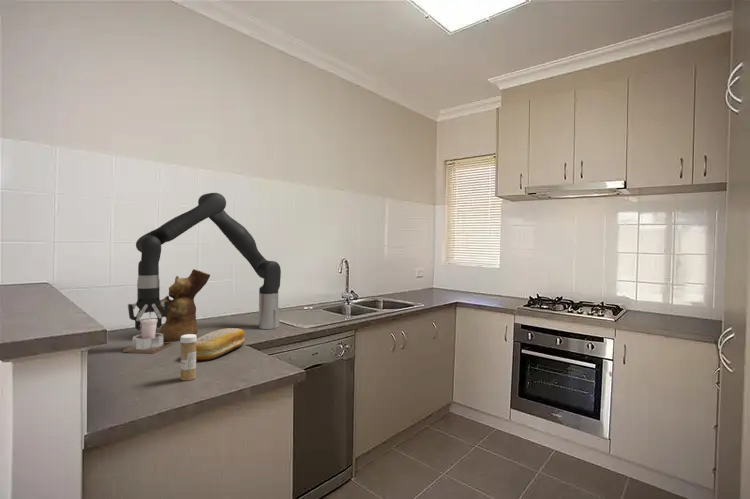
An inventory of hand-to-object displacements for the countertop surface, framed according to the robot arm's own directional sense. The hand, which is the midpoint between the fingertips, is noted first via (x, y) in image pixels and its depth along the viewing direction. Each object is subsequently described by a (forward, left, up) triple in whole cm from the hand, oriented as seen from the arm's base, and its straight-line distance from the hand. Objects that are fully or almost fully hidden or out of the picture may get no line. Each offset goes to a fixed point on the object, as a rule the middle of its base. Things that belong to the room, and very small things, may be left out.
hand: (148, 328), depth 153 cm
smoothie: (0, 0, -6) cm, 6 cm away
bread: (-29, +1, -8) cm, 30 cm away
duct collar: (0, 0, -8) cm, 8 cm away
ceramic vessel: (-3, -20, -8) cm, 21 cm away
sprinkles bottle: (-33, +31, -8) cm, 46 cm away
